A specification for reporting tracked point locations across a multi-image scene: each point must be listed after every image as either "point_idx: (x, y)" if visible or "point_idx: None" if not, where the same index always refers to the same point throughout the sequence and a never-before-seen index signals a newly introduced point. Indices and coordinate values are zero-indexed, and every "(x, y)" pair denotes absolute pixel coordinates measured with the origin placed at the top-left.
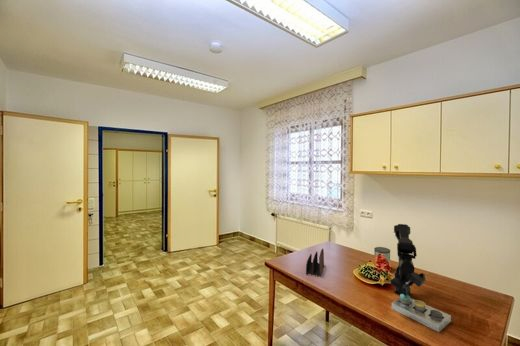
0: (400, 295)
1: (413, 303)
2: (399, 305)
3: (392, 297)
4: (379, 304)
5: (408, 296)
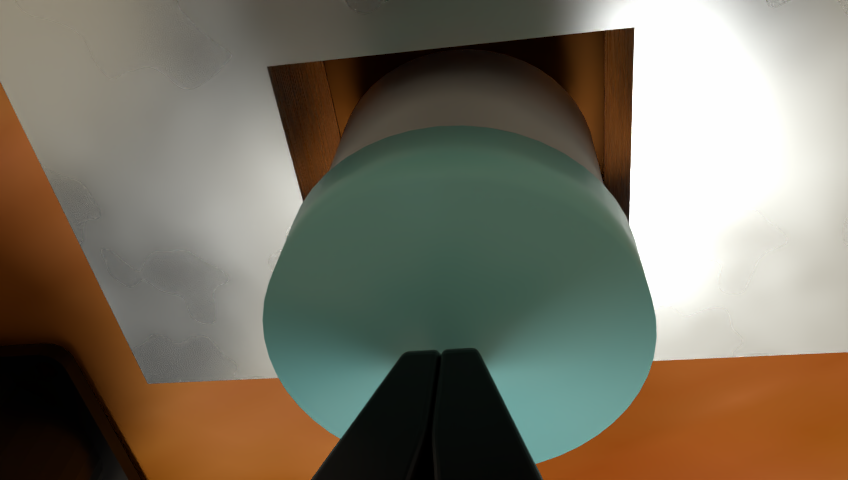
0: (575, 439)
1: (268, 32)
2: (835, 180)
3: (335, 440)
4: (838, 429)
5: (346, 280)
